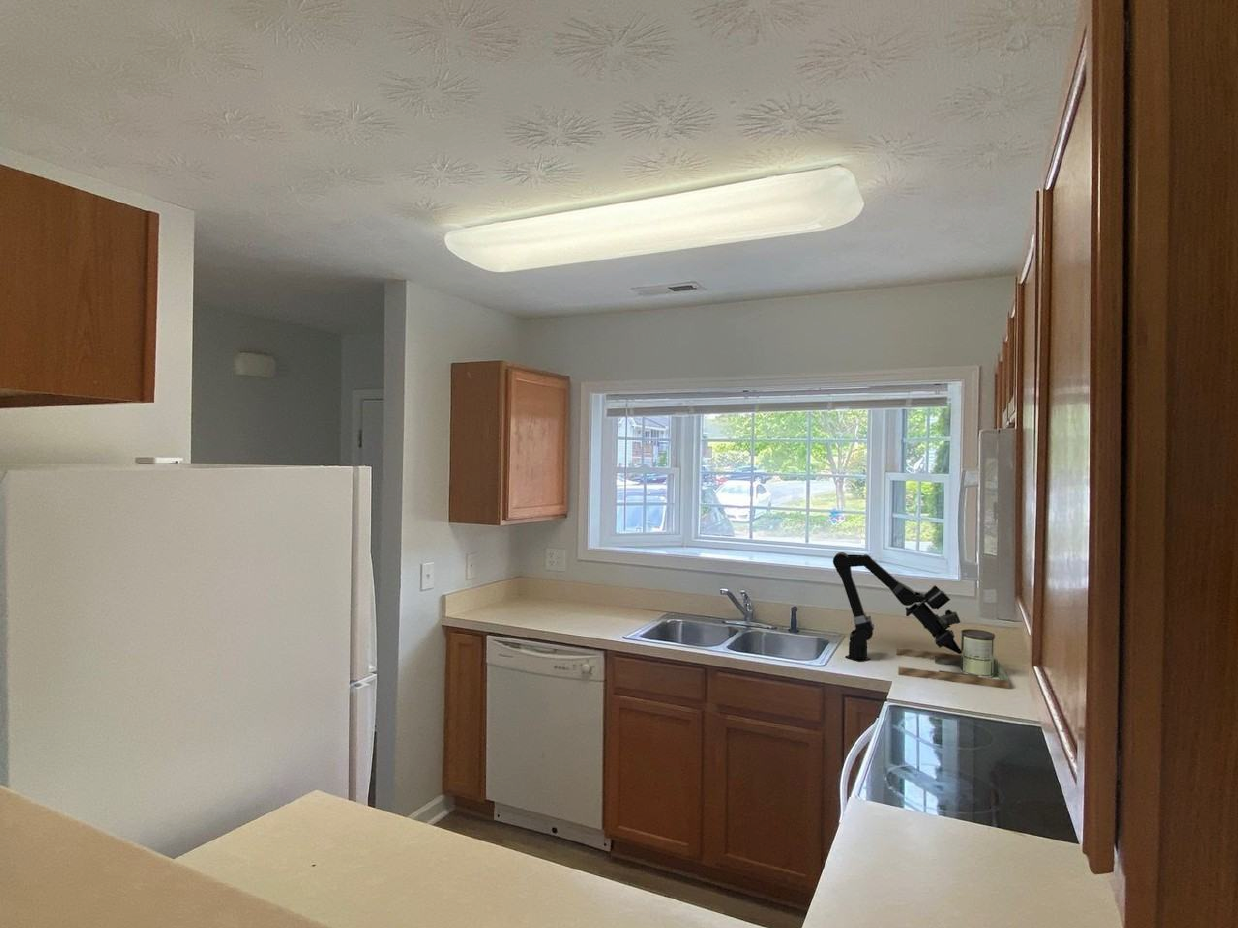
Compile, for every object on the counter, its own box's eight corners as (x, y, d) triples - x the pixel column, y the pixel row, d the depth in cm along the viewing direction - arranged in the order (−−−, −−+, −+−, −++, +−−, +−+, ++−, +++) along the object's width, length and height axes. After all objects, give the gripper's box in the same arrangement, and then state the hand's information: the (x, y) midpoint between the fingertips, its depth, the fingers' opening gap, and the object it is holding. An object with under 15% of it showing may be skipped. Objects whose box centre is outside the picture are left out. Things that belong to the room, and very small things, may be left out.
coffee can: (954, 668, 241) (955, 628, 241) (982, 669, 241) (984, 629, 241) (970, 677, 231) (971, 636, 231) (1000, 678, 231) (1001, 637, 231)
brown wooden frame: (898, 674, 232) (898, 665, 232) (896, 654, 257) (896, 646, 257) (1008, 689, 220) (1008, 679, 220) (995, 666, 245) (995, 657, 245)
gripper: (948, 608, 230) (983, 645, 226) (943, 598, 248) (976, 632, 244) (921, 629, 233) (956, 665, 229) (919, 617, 251) (951, 651, 247)
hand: (960, 653), depth 237 cm, fingers closed
